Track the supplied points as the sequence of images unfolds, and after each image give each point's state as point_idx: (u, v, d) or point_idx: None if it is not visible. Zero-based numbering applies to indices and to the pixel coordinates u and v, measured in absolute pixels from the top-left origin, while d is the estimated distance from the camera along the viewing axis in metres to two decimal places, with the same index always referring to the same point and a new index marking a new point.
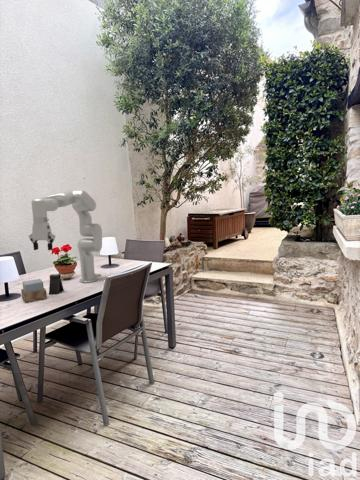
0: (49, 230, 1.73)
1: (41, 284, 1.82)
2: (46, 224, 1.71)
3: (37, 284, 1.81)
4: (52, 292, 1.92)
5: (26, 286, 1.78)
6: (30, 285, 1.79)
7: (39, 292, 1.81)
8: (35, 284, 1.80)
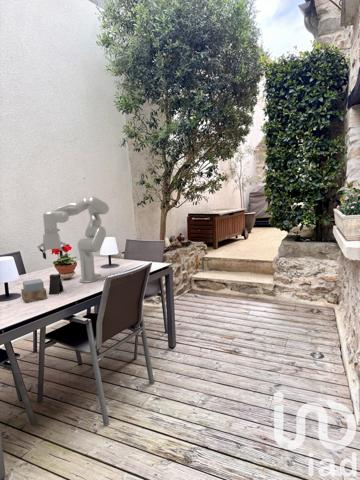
0: None
1: (41, 284, 1.82)
2: (58, 234, 1.93)
3: (37, 284, 1.81)
4: (52, 292, 1.92)
5: (26, 286, 1.78)
6: (30, 285, 1.79)
7: (39, 292, 1.81)
8: (35, 284, 1.80)
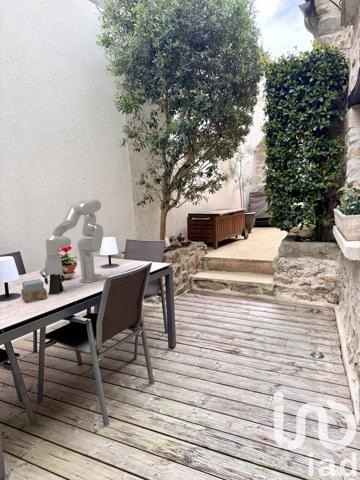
0: None
1: (41, 284, 1.82)
2: (60, 259, 1.95)
3: (37, 284, 1.81)
4: (52, 292, 1.92)
5: (26, 286, 1.77)
6: (30, 285, 1.78)
7: (39, 292, 1.81)
8: (35, 284, 1.80)
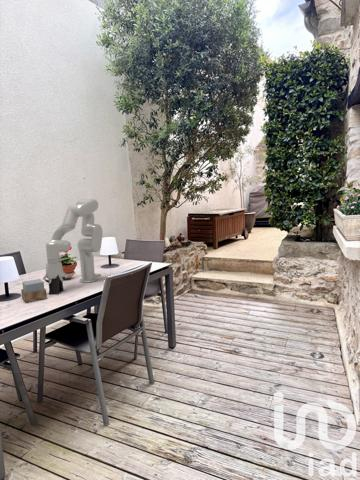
0: None
1: (42, 284, 1.82)
2: (61, 263, 1.96)
3: (38, 284, 1.81)
4: (52, 292, 1.92)
5: (27, 286, 1.77)
6: (31, 285, 1.79)
7: (39, 292, 1.81)
8: (36, 284, 1.80)
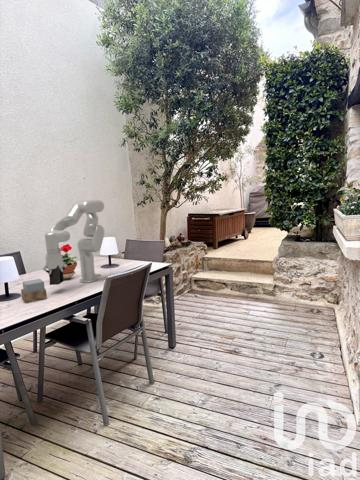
0: None
1: (42, 284, 1.83)
2: None
3: (38, 284, 1.81)
4: (53, 282, 1.92)
5: (27, 286, 1.78)
6: (31, 285, 1.79)
7: (38, 292, 1.81)
8: (36, 284, 1.81)
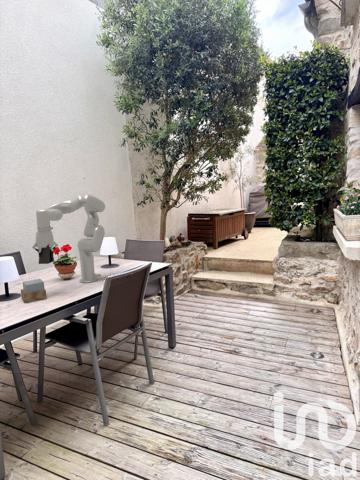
0: None
1: (42, 284, 1.83)
2: None
3: (38, 284, 1.81)
4: (42, 261, 1.86)
5: (27, 286, 1.78)
6: (31, 285, 1.79)
7: (38, 292, 1.81)
8: (36, 284, 1.80)
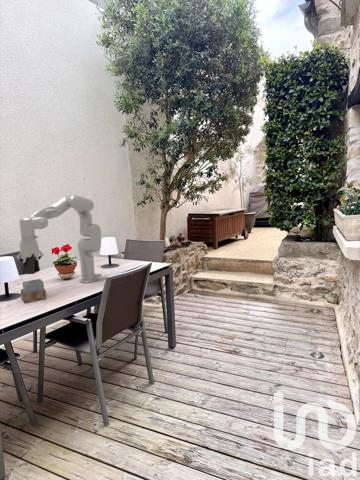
0: None
1: (41, 284, 1.82)
2: (36, 241, 1.82)
3: (37, 284, 1.81)
4: (26, 272, 1.79)
5: (26, 286, 1.77)
6: (30, 285, 1.79)
7: (38, 292, 1.81)
8: (35, 284, 1.80)
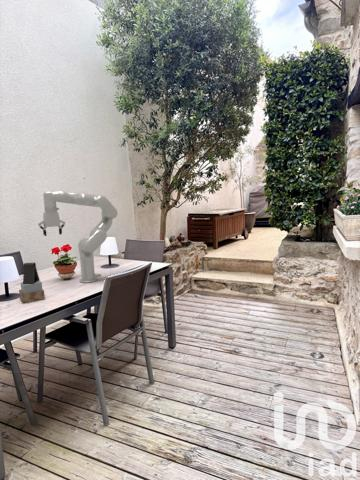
0: None
1: (40, 284, 1.81)
2: None
3: (36, 284, 1.80)
4: (26, 282, 1.79)
5: (25, 287, 1.77)
6: (29, 286, 1.78)
7: (36, 293, 1.80)
8: (34, 284, 1.79)
